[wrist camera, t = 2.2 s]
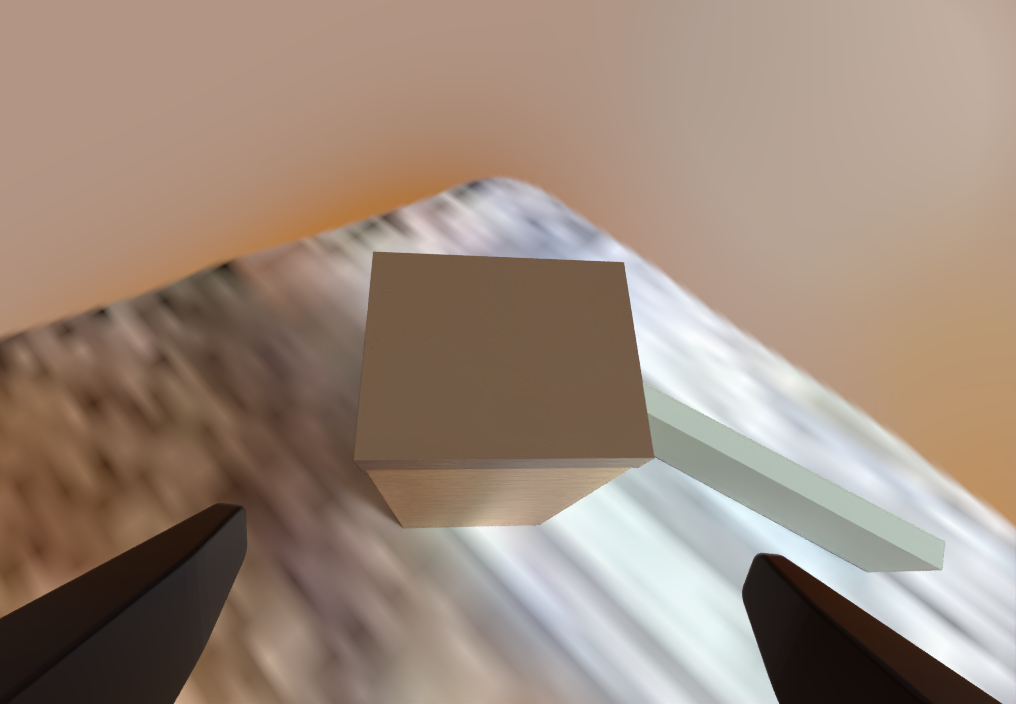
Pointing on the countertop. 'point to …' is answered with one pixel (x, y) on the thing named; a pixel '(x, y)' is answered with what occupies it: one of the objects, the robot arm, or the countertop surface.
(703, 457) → the rail
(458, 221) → the countertop surface
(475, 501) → the brown block
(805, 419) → the countertop surface
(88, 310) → the countertop surface
